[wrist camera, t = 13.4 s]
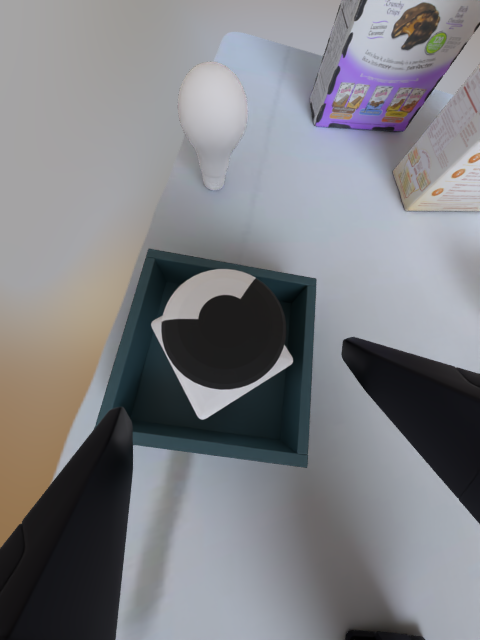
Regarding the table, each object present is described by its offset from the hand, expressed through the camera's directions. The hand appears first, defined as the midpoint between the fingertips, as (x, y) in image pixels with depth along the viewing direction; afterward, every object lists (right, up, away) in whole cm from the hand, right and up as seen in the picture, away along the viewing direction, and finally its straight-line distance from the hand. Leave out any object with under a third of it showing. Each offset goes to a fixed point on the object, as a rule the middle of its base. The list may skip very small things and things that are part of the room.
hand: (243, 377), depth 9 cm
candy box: (+17, +32, +25) cm, 45 cm away
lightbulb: (-3, +18, +19) cm, 27 cm away
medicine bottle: (-2, -1, +13) cm, 13 cm away
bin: (-2, -1, +13) cm, 14 cm away
